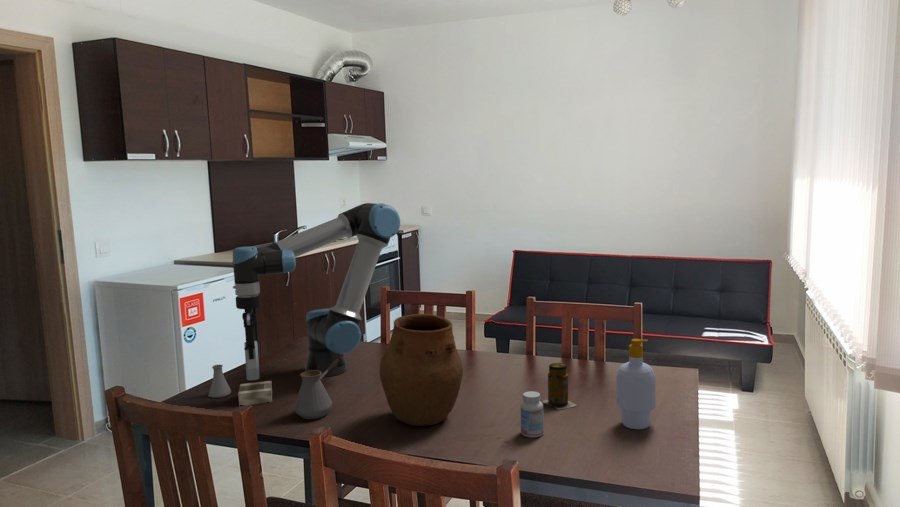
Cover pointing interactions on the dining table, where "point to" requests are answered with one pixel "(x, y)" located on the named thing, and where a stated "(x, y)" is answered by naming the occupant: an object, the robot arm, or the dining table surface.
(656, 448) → the dining table surface
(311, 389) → the coffee pot
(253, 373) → the peg
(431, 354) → the pot
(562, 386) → the condiment
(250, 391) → the socket block
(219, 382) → the flask
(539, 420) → the pill bottle
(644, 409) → the soap bottle
